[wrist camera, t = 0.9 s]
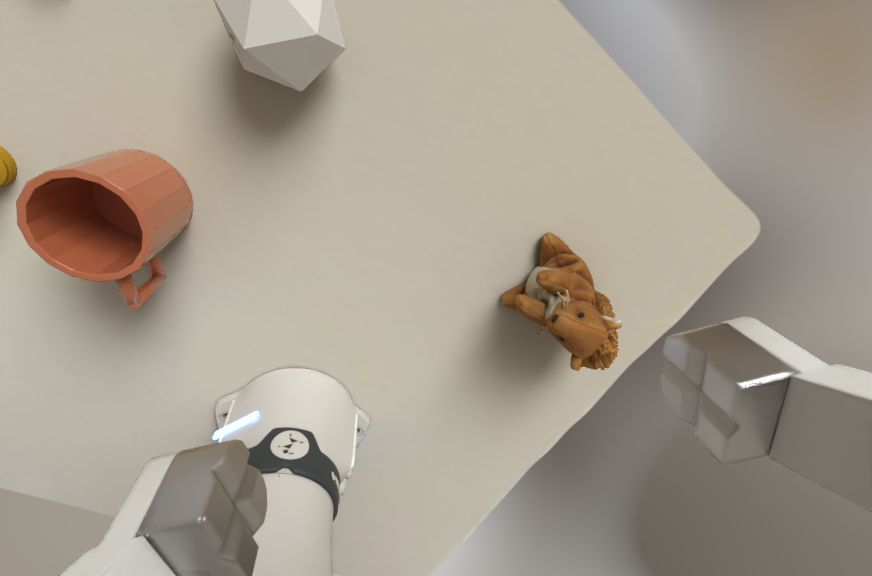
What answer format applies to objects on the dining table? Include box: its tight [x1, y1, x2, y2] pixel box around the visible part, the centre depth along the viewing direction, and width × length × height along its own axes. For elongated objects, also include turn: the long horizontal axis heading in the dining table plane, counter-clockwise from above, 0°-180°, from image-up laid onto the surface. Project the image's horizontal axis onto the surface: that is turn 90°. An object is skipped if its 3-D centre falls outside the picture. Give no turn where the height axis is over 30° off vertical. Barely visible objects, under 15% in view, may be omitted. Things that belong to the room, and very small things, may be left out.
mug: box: [16, 149, 193, 309], centre depth 38 cm, size 12×9×10 cm
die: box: [214, 0, 346, 92], centre depth 33 cm, size 8×9×10 cm
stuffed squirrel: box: [501, 233, 622, 371], centre depth 47 cm, size 10×14×13 cm
